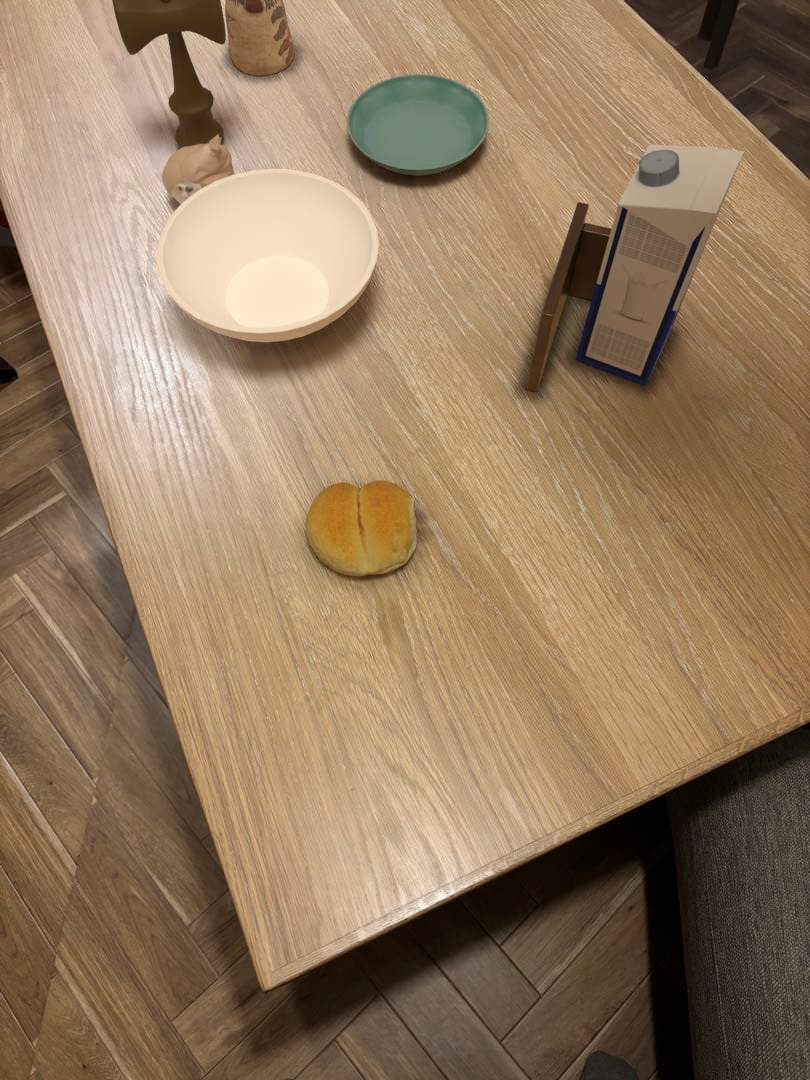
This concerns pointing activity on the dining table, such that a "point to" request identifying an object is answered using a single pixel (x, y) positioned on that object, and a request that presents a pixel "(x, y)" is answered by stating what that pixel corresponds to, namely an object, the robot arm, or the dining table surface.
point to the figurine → (258, 36)
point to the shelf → (569, 283)
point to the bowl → (268, 254)
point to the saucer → (418, 123)
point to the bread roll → (362, 527)
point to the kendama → (177, 55)
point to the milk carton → (654, 255)
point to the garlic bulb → (196, 168)
